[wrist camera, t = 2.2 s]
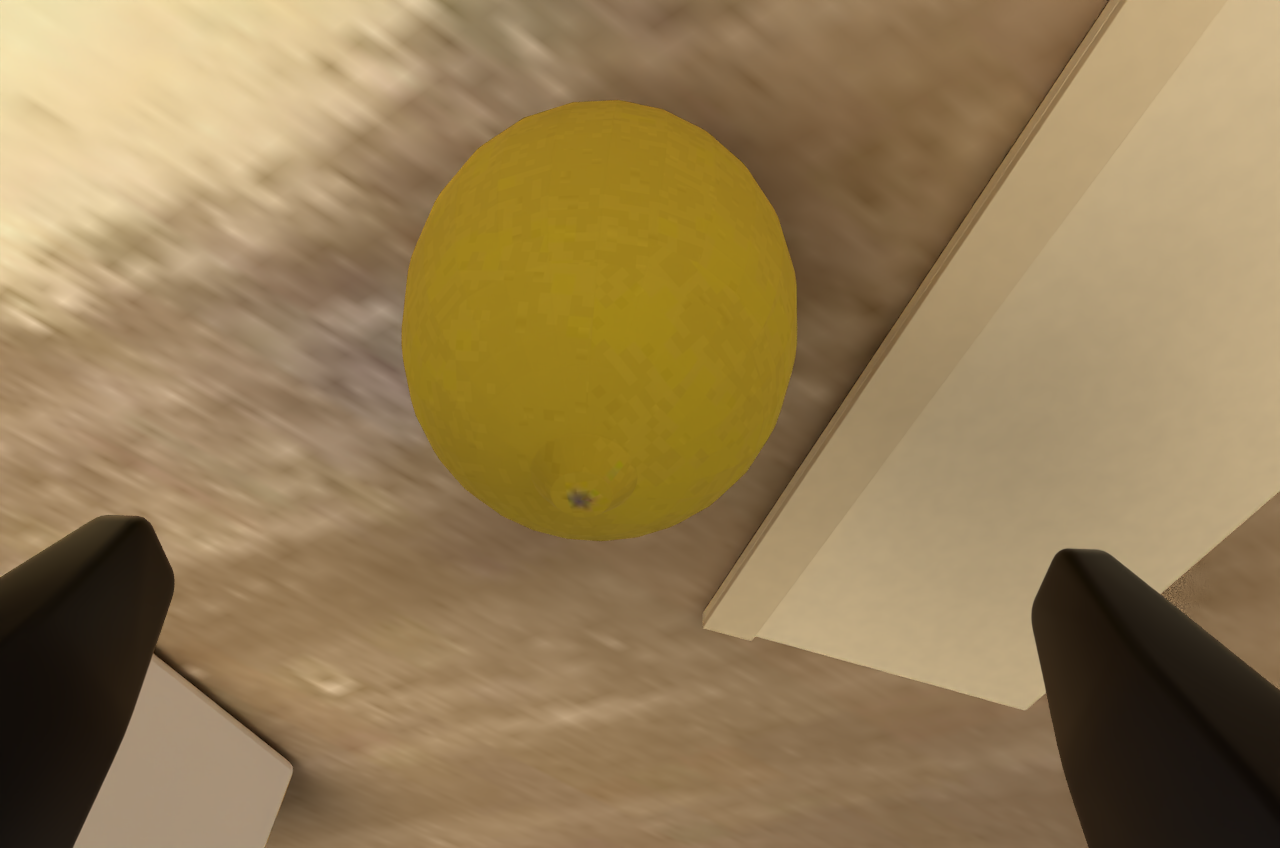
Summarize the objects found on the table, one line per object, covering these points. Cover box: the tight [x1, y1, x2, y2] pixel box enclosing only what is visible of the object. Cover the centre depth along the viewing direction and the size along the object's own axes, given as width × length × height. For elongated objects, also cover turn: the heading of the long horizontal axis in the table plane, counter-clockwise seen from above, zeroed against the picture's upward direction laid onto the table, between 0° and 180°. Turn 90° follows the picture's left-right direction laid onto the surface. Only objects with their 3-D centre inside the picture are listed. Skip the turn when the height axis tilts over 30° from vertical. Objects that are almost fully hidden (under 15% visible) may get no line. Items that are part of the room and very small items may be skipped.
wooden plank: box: [703, 0, 1280, 710], centre depth 17 cm, size 22×10×1 cm, turn 159°
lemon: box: [402, 100, 797, 541], centre depth 12 cm, size 6×6×8 cm
